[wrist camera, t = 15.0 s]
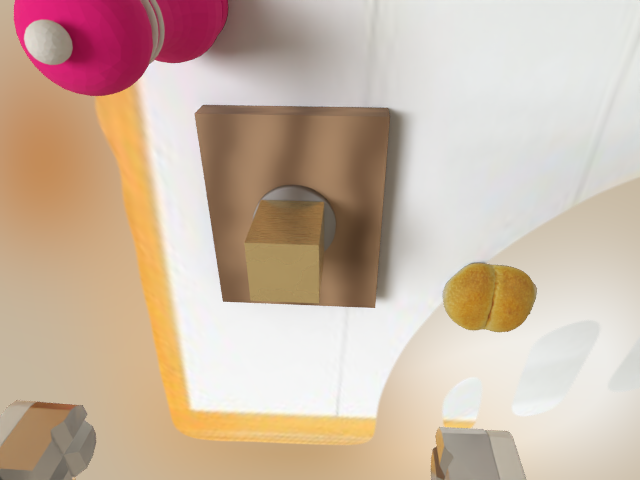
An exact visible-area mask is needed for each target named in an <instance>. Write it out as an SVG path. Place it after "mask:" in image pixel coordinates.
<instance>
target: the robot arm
mask: <svg viewBox="0 0 640 480" xmlns="http://www.w3.org/2000/svg"><path fill="white" fill-rule="evenodd" d="M86 416H87V412H86V410H85V408H84V407H83V405H72V404H59V403H46V402H36V401H20V400H16V401H15V402H14V403H12V404H10V405H9V406H8V407H7V408H6V409H5V411H4V412H3V413H2V414H1V416H0V480H75V477H76V476H77V475H78V474H79V473H81V472H82V471H84V470H85V469H86V468H87V467H88V465H89V463H90V461H91V458H92V456H93V453H94V449H95V445H96V433H95V430H94V428H93V426H92V425H90V424H89V423H88V422H86V421H85V418H86ZM436 444H437V446H436V447H435V448H434V449H433V451H432V457H431V480H526V477H525V474H524V471H523V468H522V465H521V461H520V458H519V455H518V452H517V449H516V445H515V442H514V439H513V436H512V435H511V434H510V432H508V431H494V430H483V429H468V428H447V427H439V428H438V430H437V432H436Z"/></svg>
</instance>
